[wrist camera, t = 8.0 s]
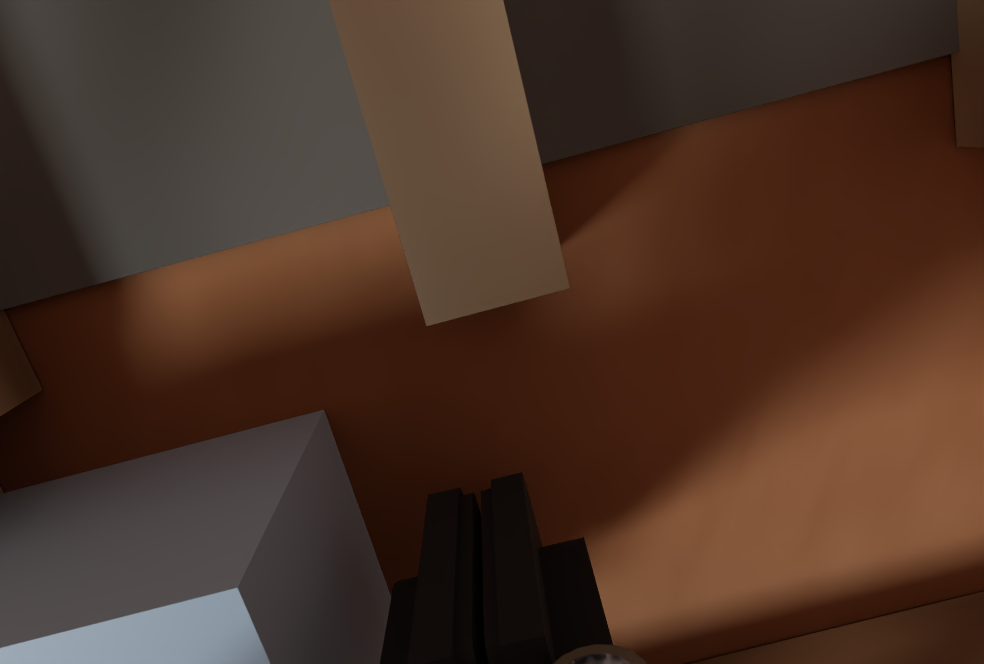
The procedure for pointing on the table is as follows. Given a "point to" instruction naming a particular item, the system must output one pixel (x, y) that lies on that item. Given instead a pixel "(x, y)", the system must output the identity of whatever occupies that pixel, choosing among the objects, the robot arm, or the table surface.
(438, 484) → the table surface
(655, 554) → the table surface
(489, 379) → the table surface
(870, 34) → the trap lane
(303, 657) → the block
